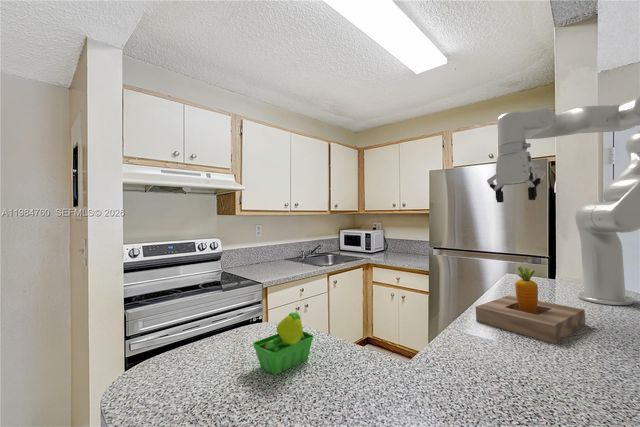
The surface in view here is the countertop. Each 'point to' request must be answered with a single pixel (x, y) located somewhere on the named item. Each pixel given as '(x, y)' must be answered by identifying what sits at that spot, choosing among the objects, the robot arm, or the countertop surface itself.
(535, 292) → the carrot
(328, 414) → the countertop surface
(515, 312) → the socket block
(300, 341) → the fruit basket
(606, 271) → the robot arm
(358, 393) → the countertop surface
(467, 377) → the countertop surface
